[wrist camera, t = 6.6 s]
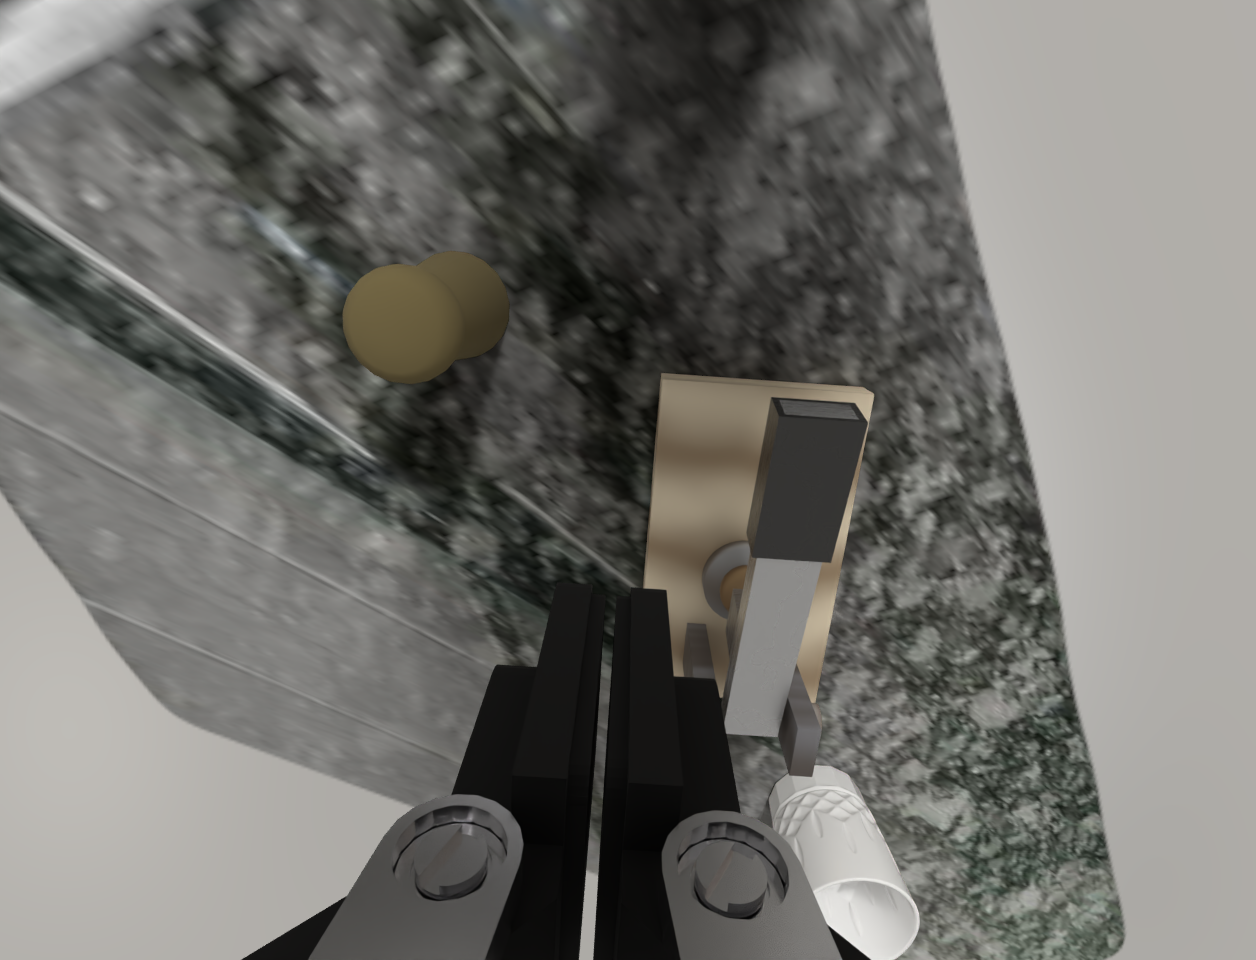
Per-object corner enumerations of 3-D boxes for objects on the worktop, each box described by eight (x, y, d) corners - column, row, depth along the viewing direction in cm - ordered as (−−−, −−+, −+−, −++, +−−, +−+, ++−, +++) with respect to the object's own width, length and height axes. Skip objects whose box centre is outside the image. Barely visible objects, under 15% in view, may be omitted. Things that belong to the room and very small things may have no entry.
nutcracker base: (661, 372, 40) (670, 421, 29) (863, 387, 40) (946, 440, 29) (635, 673, 47) (635, 803, 36) (807, 685, 47) (858, 817, 36)
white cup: (740, 815, 51) (763, 944, 42) (798, 740, 49) (836, 860, 39) (827, 854, 52) (869, 989, 43) (888, 783, 50) (946, 909, 41)
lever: (763, 379, 31) (779, 416, 27) (843, 385, 31) (868, 422, 27) (711, 680, 40) (717, 736, 37) (771, 685, 40) (783, 741, 37)
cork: (514, 356, 40) (471, 397, 30) (412, 361, 40) (334, 403, 30) (504, 248, 38) (453, 251, 28) (397, 253, 38) (307, 257, 28)
